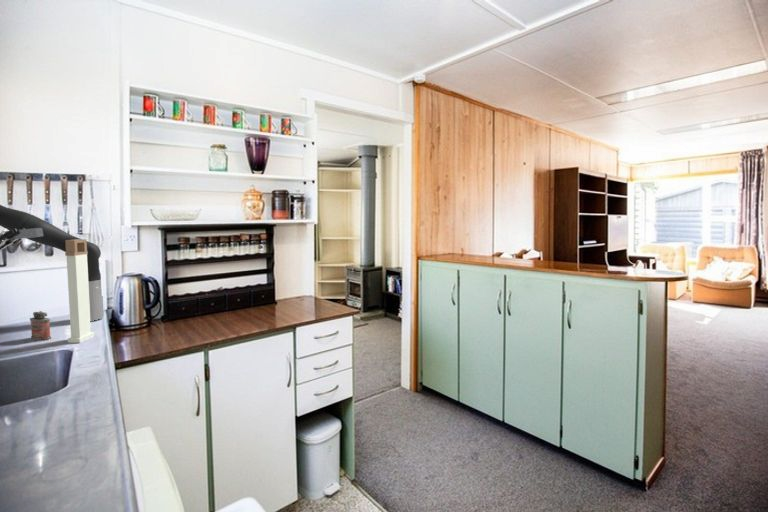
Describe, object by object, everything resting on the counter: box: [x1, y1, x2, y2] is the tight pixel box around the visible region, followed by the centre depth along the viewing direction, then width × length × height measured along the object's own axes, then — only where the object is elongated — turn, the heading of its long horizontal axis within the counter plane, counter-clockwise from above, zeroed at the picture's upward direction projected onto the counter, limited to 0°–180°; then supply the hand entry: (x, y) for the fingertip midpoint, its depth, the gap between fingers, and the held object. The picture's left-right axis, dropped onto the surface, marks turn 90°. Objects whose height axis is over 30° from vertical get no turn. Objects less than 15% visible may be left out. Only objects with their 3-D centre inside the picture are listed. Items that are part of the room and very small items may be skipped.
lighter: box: [29, 310, 52, 342], centre depth 147 cm, size 8×3×10 cm, turn 71°
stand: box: [65, 238, 95, 344], centre depth 146 cm, size 8×4×36 cm, turn 3°
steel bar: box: [2, 228, 44, 240], centre depth 143 cm, size 3×11×3 cm, turn 93°
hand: (20, 230), depth 143 cm, fingers closed on steel bar, 3 cm apart
